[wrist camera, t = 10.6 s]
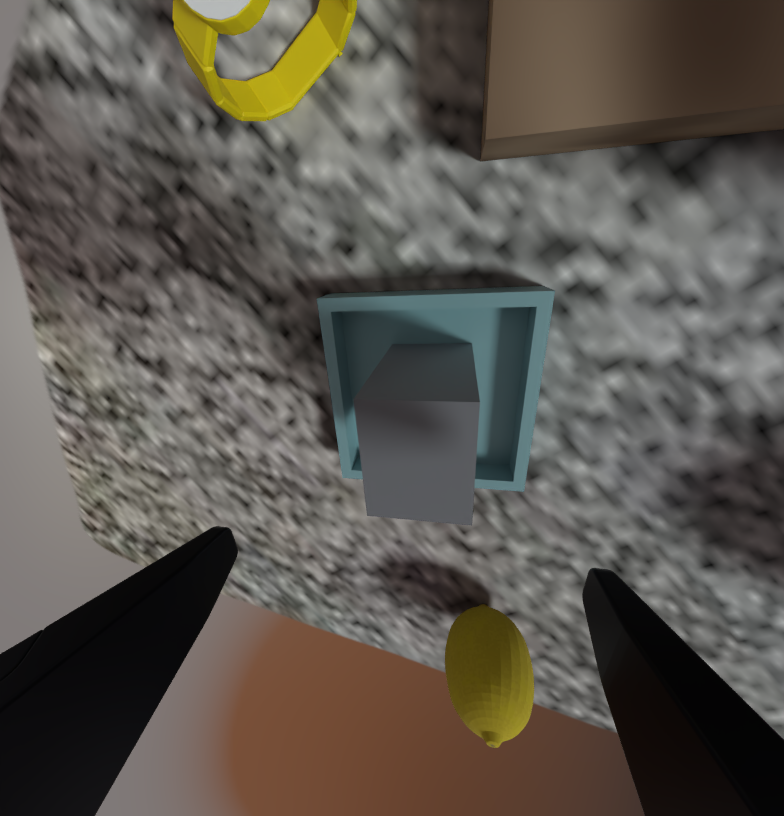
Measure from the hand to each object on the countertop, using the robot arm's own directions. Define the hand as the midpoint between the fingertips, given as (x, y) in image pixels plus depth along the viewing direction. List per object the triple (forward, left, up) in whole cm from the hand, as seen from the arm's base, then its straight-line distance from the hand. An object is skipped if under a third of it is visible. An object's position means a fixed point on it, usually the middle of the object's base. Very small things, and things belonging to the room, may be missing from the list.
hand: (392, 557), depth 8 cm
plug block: (0, 0, -11) cm, 11 cm away
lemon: (-4, +18, -11) cm, 22 cm away
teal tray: (0, 0, -11) cm, 11 cm away
